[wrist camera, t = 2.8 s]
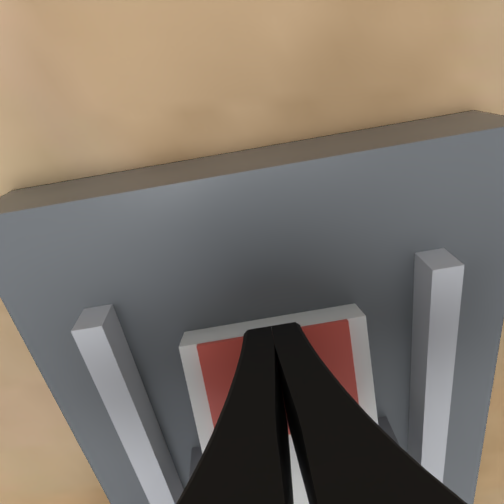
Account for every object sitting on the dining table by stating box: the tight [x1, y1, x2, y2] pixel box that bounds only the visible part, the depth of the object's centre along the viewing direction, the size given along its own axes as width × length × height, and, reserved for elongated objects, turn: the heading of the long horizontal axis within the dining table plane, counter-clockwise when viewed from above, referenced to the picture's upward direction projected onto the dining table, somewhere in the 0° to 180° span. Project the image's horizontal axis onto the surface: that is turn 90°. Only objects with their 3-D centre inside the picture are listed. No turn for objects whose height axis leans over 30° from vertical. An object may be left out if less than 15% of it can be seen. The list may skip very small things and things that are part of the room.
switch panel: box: [0, 110, 504, 504], centre depth 14 cm, size 20×14×5 cm
